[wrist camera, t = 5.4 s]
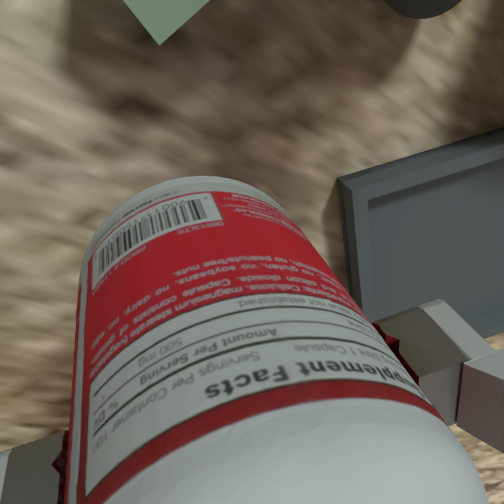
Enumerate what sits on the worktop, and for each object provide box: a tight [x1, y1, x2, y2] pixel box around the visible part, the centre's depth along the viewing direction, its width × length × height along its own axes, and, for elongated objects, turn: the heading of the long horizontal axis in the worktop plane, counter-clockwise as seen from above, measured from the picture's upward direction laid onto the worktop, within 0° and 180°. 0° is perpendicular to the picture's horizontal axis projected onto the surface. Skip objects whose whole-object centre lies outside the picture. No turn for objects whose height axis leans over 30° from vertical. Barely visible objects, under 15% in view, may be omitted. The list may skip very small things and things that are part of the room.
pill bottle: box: [64, 176, 489, 504], centre depth 9 cm, size 6×6×11 cm
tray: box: [337, 128, 504, 339], centre depth 28 cm, size 14×14×2 cm
